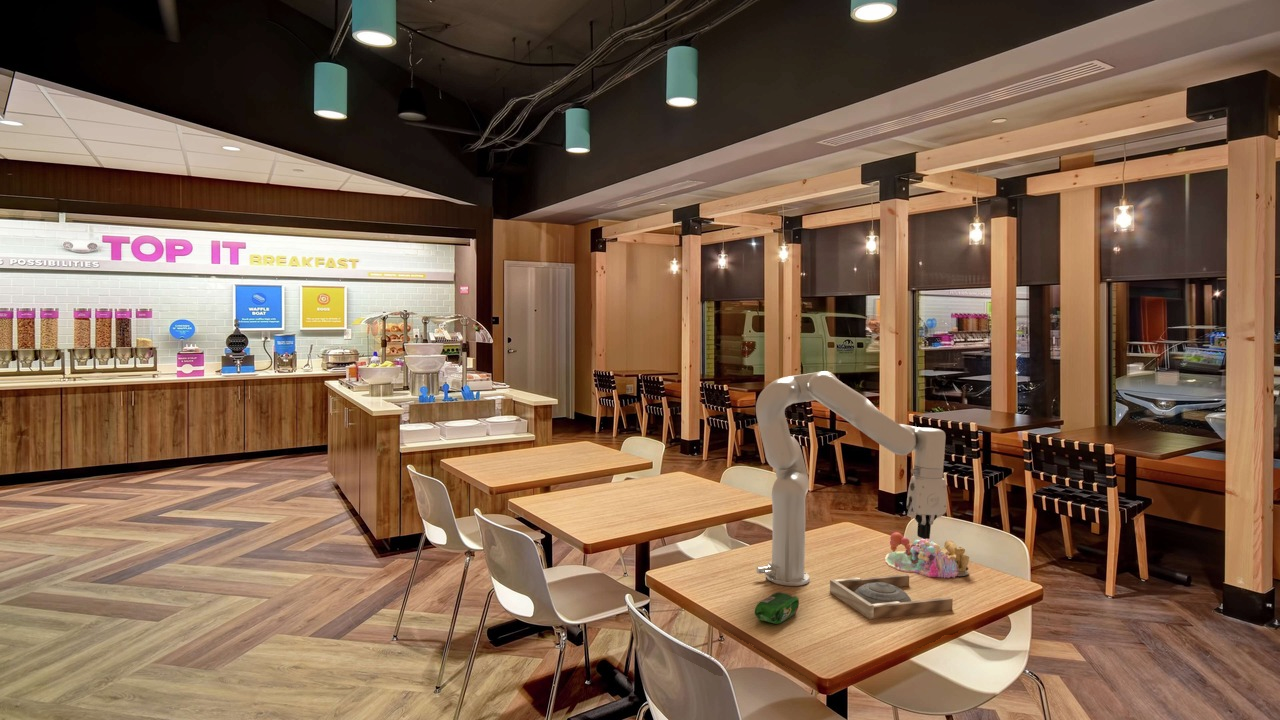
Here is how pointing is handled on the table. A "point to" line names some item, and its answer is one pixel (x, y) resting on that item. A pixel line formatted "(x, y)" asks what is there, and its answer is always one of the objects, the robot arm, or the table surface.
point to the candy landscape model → (927, 558)
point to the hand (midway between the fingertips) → (923, 537)
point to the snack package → (777, 608)
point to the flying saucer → (881, 593)
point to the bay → (888, 609)
